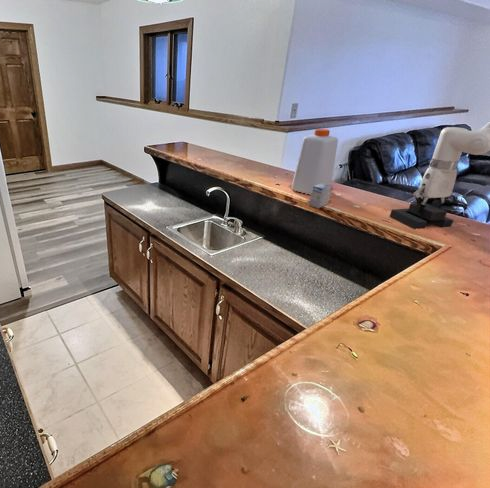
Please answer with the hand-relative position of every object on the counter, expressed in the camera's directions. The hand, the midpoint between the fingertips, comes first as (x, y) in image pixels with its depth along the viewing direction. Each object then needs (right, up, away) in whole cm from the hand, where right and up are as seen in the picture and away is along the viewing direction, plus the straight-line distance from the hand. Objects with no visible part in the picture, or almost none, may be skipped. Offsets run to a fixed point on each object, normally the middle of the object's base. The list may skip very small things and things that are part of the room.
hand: (426, 212), depth 129 cm
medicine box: (-32, +5, +19) cm, 37 cm away
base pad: (0, -3, +3) cm, 5 cm away
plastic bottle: (-28, +13, +37) cm, 48 cm away
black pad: (0, -1, 0) cm, 1 cm away
